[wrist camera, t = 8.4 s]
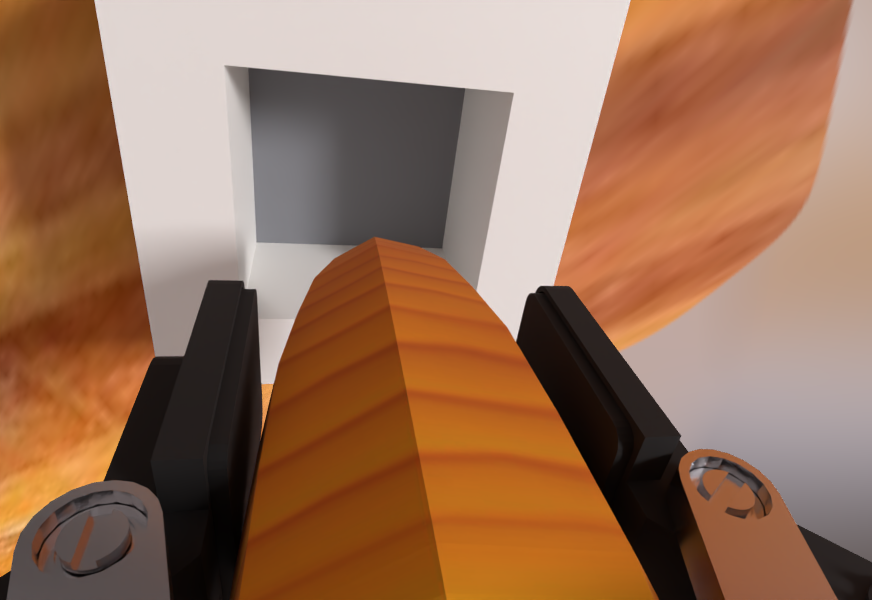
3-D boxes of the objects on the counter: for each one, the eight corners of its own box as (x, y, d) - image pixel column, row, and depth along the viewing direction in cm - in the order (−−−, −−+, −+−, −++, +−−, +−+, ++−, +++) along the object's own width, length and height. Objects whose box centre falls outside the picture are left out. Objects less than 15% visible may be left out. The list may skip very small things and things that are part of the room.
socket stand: (104, -173, 15) (-8, -231, 10) (588, -88, 18) (698, -99, 13) (175, 324, 23) (134, 434, 18) (497, 325, 26) (542, 419, 21)
